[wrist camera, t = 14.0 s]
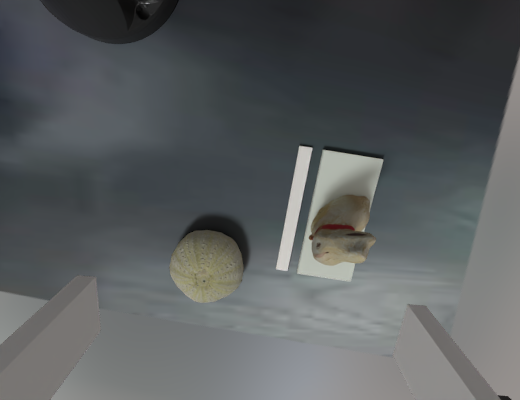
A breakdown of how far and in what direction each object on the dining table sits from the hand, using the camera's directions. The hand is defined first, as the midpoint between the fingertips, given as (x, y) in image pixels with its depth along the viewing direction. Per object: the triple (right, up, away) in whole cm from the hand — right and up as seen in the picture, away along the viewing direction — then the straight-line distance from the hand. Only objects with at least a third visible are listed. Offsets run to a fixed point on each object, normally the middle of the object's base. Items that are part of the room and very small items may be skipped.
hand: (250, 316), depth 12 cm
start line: (+5, +4, +24) cm, 24 cm away
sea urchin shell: (-6, -3, +26) cm, 27 cm away
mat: (+10, +3, +24) cm, 26 cm away
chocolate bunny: (+10, +3, +23) cm, 25 cm away
